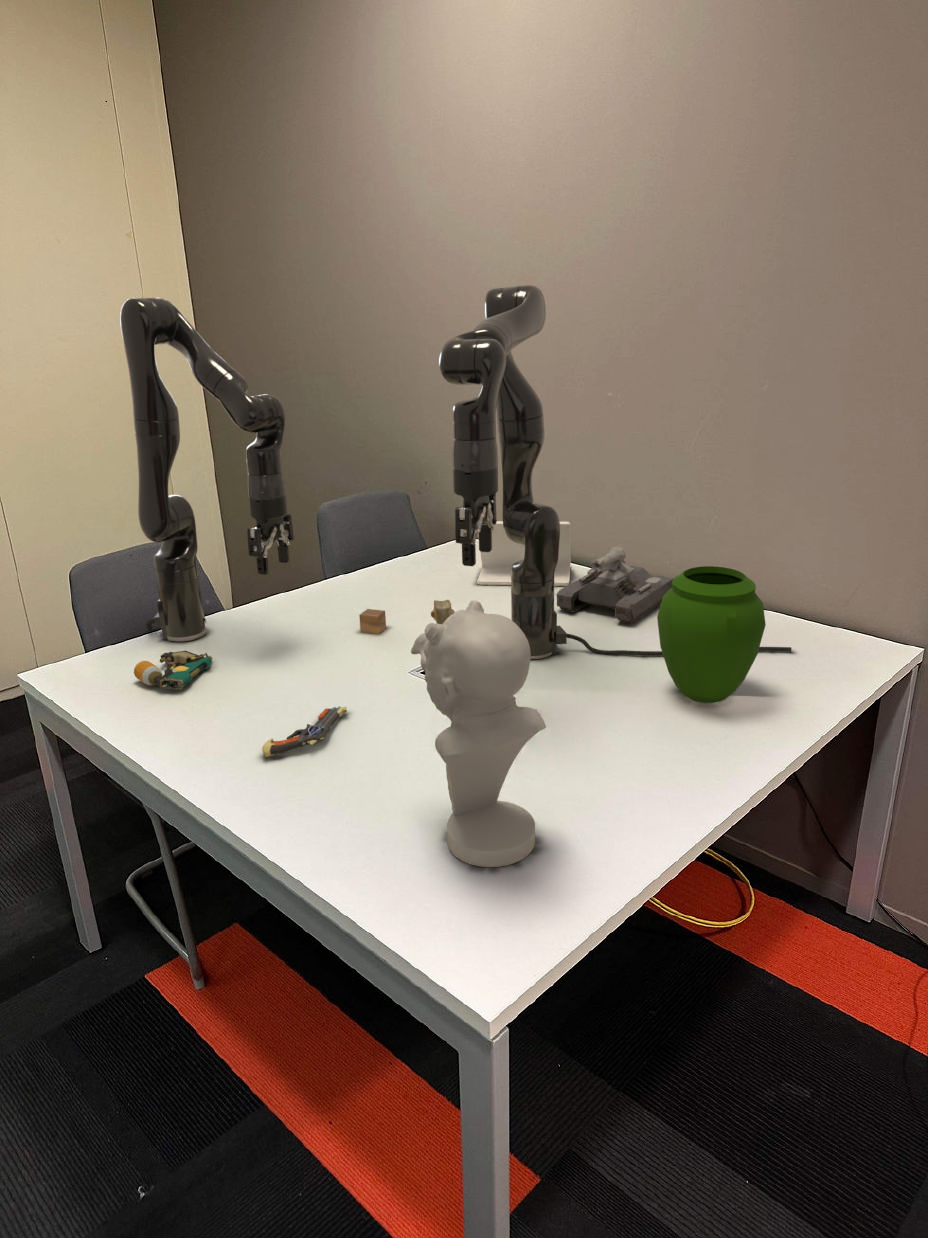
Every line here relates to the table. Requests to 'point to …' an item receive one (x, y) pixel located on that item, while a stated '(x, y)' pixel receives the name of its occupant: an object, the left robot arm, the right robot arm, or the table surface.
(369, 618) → the block
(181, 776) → the table surface
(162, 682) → the spray gun
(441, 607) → the sculpture
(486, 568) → the tablet stand
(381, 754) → the table surface
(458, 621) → the bust sculpture
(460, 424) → the right robot arm
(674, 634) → the vase
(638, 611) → the toy
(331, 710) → the toy gun
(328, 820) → the table surface
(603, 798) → the table surface
